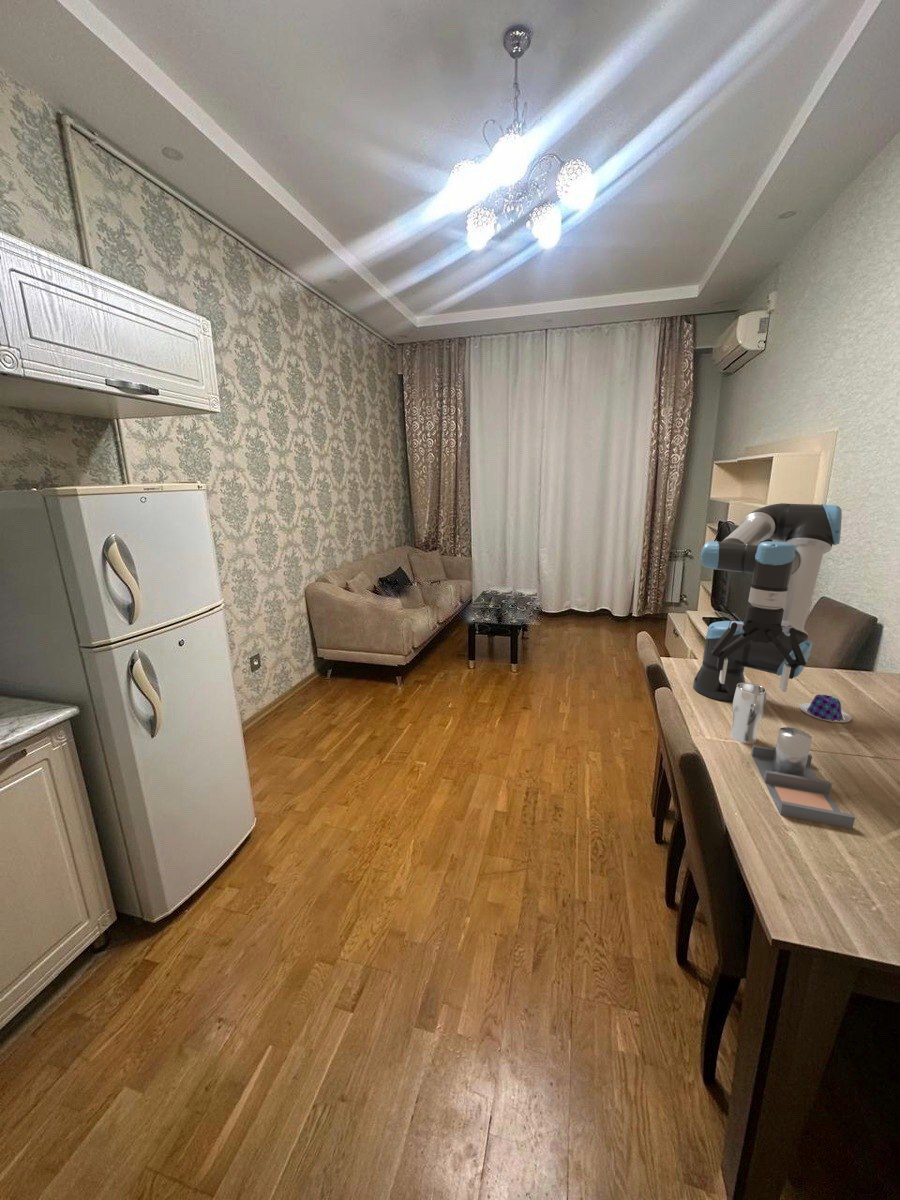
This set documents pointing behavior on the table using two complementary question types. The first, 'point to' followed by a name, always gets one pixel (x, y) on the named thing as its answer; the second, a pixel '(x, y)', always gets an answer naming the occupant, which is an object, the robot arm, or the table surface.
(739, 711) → the beer glass
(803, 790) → the slot rack
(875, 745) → the table surface
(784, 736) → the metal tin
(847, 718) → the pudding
